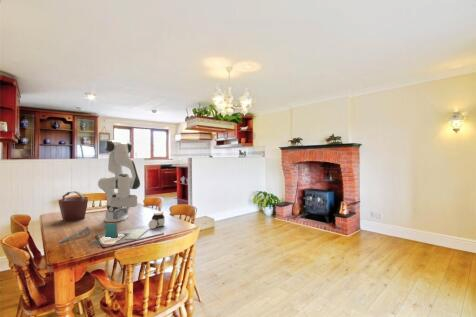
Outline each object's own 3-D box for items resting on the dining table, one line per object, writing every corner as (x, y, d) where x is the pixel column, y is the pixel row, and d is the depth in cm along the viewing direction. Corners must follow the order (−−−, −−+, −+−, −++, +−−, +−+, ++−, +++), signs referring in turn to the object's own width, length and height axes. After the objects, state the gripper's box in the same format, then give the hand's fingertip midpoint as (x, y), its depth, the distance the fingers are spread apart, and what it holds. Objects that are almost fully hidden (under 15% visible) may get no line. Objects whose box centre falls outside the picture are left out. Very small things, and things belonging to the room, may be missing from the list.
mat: (107, 233, 177) (107, 233, 177) (128, 233, 177) (128, 233, 177) (88, 245, 155) (88, 244, 155) (113, 245, 155) (113, 244, 155)
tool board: (136, 230, 184) (136, 229, 184) (147, 230, 184) (147, 229, 184) (123, 240, 164) (123, 238, 164) (136, 240, 164) (136, 238, 164)
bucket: (55, 219, 217) (55, 192, 216) (82, 214, 235) (82, 189, 234) (66, 223, 203) (66, 194, 202) (94, 218, 221) (93, 191, 220)
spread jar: (165, 224, 200) (165, 211, 200) (163, 228, 189) (163, 214, 189) (150, 225, 198) (150, 211, 198) (147, 229, 187) (147, 215, 187)
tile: (106, 237, 168) (106, 223, 168) (117, 237, 168) (117, 223, 168) (105, 237, 167) (105, 223, 167) (116, 238, 167) (116, 223, 167)
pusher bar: (123, 213, 188) (123, 207, 188) (127, 213, 188) (127, 207, 188) (113, 219, 172) (113, 212, 172) (117, 219, 172) (117, 212, 172)
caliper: (88, 234, 177) (88, 225, 177) (89, 234, 176) (89, 226, 176) (58, 243, 159) (58, 233, 159) (59, 243, 158) (58, 234, 158)
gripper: (138, 194, 188) (138, 211, 188) (113, 194, 188) (113, 211, 188) (135, 195, 182) (135, 213, 182) (108, 195, 182) (108, 213, 182)
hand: (123, 212), depth 185 cm, fingers closed on pusher bar, 3 cm apart
